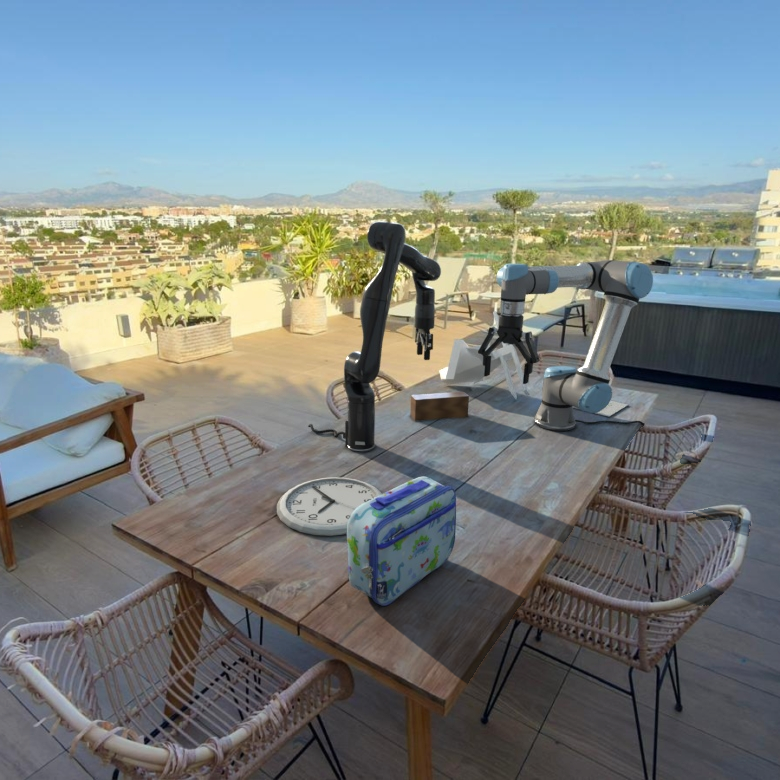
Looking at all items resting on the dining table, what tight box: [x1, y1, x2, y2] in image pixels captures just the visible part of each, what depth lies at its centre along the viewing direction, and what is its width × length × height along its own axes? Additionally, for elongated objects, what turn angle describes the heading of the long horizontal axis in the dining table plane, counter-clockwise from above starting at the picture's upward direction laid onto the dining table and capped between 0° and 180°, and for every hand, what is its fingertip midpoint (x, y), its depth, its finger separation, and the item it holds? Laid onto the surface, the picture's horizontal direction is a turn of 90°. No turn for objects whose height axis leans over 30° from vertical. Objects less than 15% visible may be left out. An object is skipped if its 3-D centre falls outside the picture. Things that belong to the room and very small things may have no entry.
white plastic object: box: [438, 310, 531, 400], centre depth 245 cm, size 37×45×31 cm
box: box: [410, 391, 470, 422], centre depth 210 cm, size 22×6×9 cm, turn 105°
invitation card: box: [573, 400, 629, 418], centre depth 226 cm, size 21×1×15 cm
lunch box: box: [346, 475, 457, 607], centre depth 111 cm, size 26×11×21 cm, turn 134°
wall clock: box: [276, 476, 384, 537], centre depth 142 cm, size 30×2×30 cm
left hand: (423, 357), depth 202 cm, fingers open, 8 cm apart
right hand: (505, 379), depth 170 cm, fingers open, 13 cm apart
